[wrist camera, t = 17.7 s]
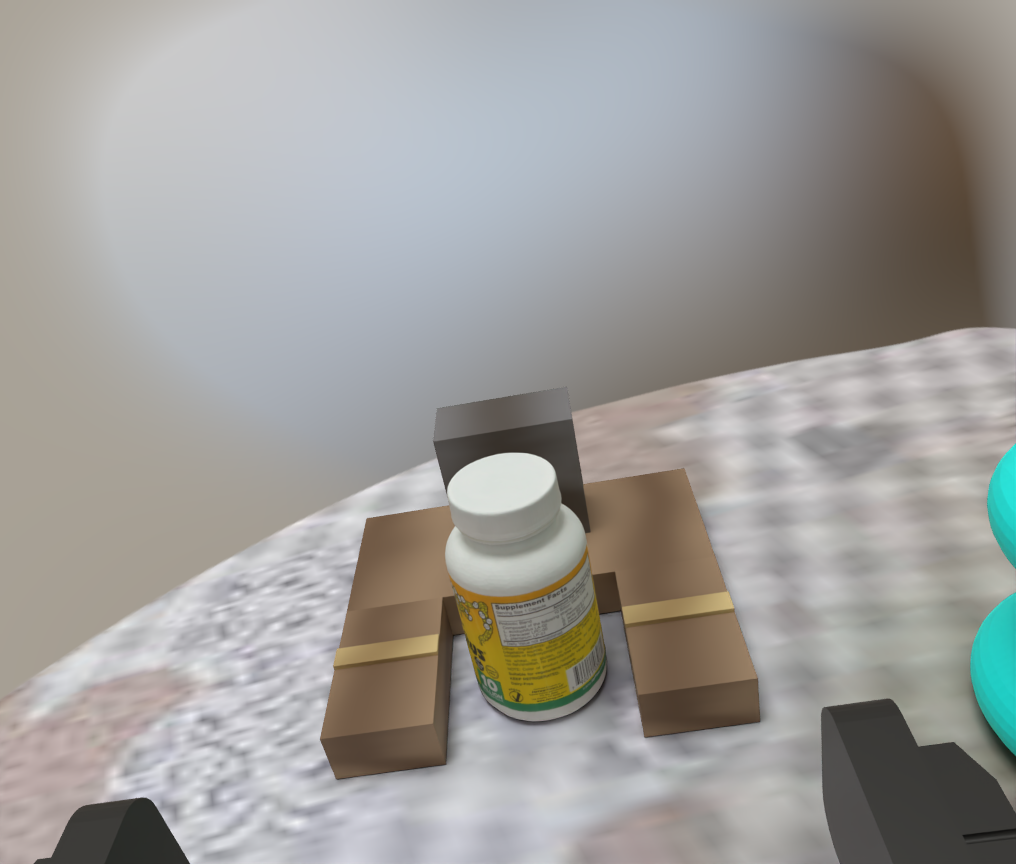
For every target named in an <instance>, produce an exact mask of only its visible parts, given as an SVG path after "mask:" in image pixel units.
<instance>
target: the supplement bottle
mask: <svg viewBox="0 0 1016 864" xmlns="http://www.w3.org/2000/svg"><path fill="white" fill-rule="evenodd" d="M447 497H448V502H449V506H450V511H451V518H452V521H453V523H454V525H455V527H454V529H453V530H452V532H451V534H450V536H449V538H448V541H447V544H446V549H445V560H446V566H447V570H448V574H449V577H450V581H451V585H452V589H453V593H454V596H455V599H456V603H457V607H458V611H459V614H460V618H461V622H462V626H463V630H464V633H465V636H466V641H467V645H468V648H469V652H470V655H471V659H472V663H473V666H474V670H475V674H476V678H477V680H478V684H479V687H480V690H481V692H482V694H483V695H484V697H485V699H486V700H487V701H488V702H489V703H490V704H491V705H493V706H494V707H495V708H497V709H498V710H500V711H501V712H503V713H504V714H506V715H508V716H510V717H513V718H516V719H520V720H526V721H546V720H551V719H556V718H559V717H563V716H566V715H568V714H570V713H572V712H574V711H576V710H578V709H579V708H581V707H582V706H584V705H585V704H586V703H587V702H588V701H590V700H591V699H592V698H593V696H594V695H595V694H596V693H597V691H598V690H599V688H600V687H601V685H602V683H603V681H604V678H605V674H606V668H607V658H606V651H605V644H604V640H603V634H602V628H601V623H600V617H599V611H598V605H597V600H596V594H595V588H594V582H593V576H592V570H591V564H590V558H589V552H588V546H587V540H586V535H585V531H584V528H583V525H582V523H581V522H580V520H579V518H578V517H577V516H576V515H575V514H574V512H573V511H571V510H570V509H569V508H568V507H566V506H565V505H563V504H562V503H561V493H560V490H559V486H558V481H557V476H556V472H555V470H554V468H553V466H552V465H551V464H550V463H549V462H548V461H547V460H545V459H543V458H541V457H538V456H536V455H532V454H528V453H503V454H496V455H492V456H488V457H485V458H482V459H480V460H477V461H475V462H473V463H470V464H469V465H467V466H465V467H464V468H462V469H461V470H460V471H459V472H457V473H456V474H455V475H454V477H453V478H452V479H451V481H450V483H449V485H448V488H447Z"/></svg>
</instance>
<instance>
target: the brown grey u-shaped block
mask: <svg viewBox="0 0 1016 864" xmlns="http://www.w3.org/2000/svg"><path fill="white" fill-rule="evenodd" d="M433 442H434V446H435V450H436V454H437V458H438V462H439V466H440V470H441V474H442V478H443V482H444V485H445V489H446V493H447V488H448V485H449V483H450V481H451V479H452V478H453V477H454V475H455V474H456V473H457V472H459V471H460V470H461V469H462V468H464V467H465V466H467V465H469V464H470V463H473V462H475V461H477V460H480V459H482V458H485V457H488V456H492V455H496V454H503V453H528V454H532V455H536V456H538V457H541V458H543V459H545V460H547V461H548V462H549V463H550V464H551V465H552V466H553V468H554V470H555V472H556V476H557V481H558V486H559V490H560V493H561V503H562V504H563V505H565V506H566V507H568V508H569V509H570V510H571V511H573V512H574V514H575V515H576V516H577V517H578V518H579V520H580V522H581V523H582V525H583V528H584V531H585V535H586V540H587V546H588V552H589V558H590V564H591V570H592V576H593V582H594V588H595V594H596V600H597V605H598V611H599V614H601V613H608V612H614V611H621V613H622V619H623V624H624V630H625V635H626V640H627V646H628V651H629V656H630V662H631V667H632V673H633V678H634V683H635V689H636V694H637V700H638V705H639V710H640V716H641V721H642V726H643V732H644V737H650V736H657V735H664V734H672V733H679V732H686V731H694V730H701V729H709V728H716V727H723V726H731V725H738V724H745V723H753V722H760V711H759V693H758V678H757V675H756V672H755V669H754V666H753V663H752V661H751V658H750V655H749V652H748V649H747V646H746V643H745V641H744V638H743V635H742V632H741V629H740V626H739V623H738V621H737V618H736V615H735V612H734V606H733V603H732V600H731V597H730V595H729V592H728V591H727V589H726V586H725V583H724V581H723V578H722V575H721V572H720V569H719V566H718V563H717V560H716V558H715V555H714V552H713V549H712V546H711V543H710V540H709V538H708V535H707V532H706V529H705V526H704V523H703V520H702V518H701V515H700V512H699V509H698V506H697V503H696V500H695V498H694V495H693V492H692V489H691V486H690V483H689V480H688V478H687V475H686V472H685V469H684V468H683V469H677V470H671V471H664V472H658V473H652V474H645V475H639V476H633V477H626V478H620V479H614V480H607V481H601V482H595V483H588V484H583V481H582V474H581V468H580V462H579V456H578V450H577V444H576V438H575V432H574V426H573V420H572V414H571V408H570V401H569V396H568V390H567V387H563V388H557V389H551V390H545V391H539V392H533V393H527V394H520V395H514V396H508V397H503V398H496V399H490V400H484V401H479V402H472V403H467V404H460V405H454V406H448V407H442V408H437V413H436V423H435V431H434V440H433ZM454 527H455V525H454V523H453V521H452V518H451V511H450V506H442V507H436V508H430V509H423V510H417V511H411V512H404V513H398V514H392V515H385V516H379V517H373V518H367V519H366V524H365V528H364V533H363V538H362V543H361V547H360V552H359V557H358V562H357V566H356V571H355V576H354V581H353V585H352V590H351V595H350V599H349V604H348V609H347V614H346V618H345V623H344V628H343V633H342V637H341V642H340V647H339V649H337V651H336V656H335V661H334V665H333V667H334V670H335V671H334V675H333V680H332V685H331V689H330V694H329V699H328V704H327V708H326V713H325V718H324V723H323V727H322V732H321V737H320V741H321V743H322V745H323V748H324V750H325V753H326V755H327V758H328V760H329V763H330V765H331V768H332V770H333V772H334V775H335V777H336V779H340V778H347V777H355V776H362V775H370V774H377V773H384V772H392V771H399V770H406V769H414V768H421V767H428V766H436V765H443V764H446V752H447V734H448V716H449V698H450V681H451V663H452V645H453V635H458V634H464V630H463V626H462V622H461V618H460V614H459V611H458V607H457V603H456V599H455V596H454V593H453V589H452V585H451V581H450V577H449V574H448V570H447V566H446V560H445V549H446V544H447V541H448V538H449V536H450V534H451V532H452V530H453V529H454Z"/></svg>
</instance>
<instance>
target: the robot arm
mask: <svg viewBox="0 0 1016 864" xmlns="http://www.w3.org/2000/svg"><path fill="white" fill-rule="evenodd" d="M821 734H822V787H823V800H824V807H825V813H826V818H827V822H828V826H829V831H830V834H831V838H832V841H833V845H834V848H835V851H836V854H837V856H838V859H839V862H840V864H1016V813H1015V812H1014V810H1013V808H1012V806H1011V805H1010V803H1009V801H1008V799H1007V798H1006V796H1005V794H1004V792H1003V791H1002V789H1001V787H1000V785H999V783H998V782H997V780H996V779H995V778H994V777H993V776H991V775H990V774H989V773H988V772H987V771H986V770H985V769H984V768H982V767H981V766H980V765H979V764H978V763H977V762H976V761H975V760H973V759H972V758H971V757H970V756H969V755H968V754H967V753H965V752H964V751H963V750H962V749H961V748H960V747H959V746H958V745H956V744H955V743H954V742H951V743H943V744H935V745H928V746H920V747H918V745H917V743H916V741H915V739H914V737H913V735H912V733H911V731H910V729H909V727H908V725H907V723H906V721H905V719H904V717H903V715H902V713H901V712H900V710H899V708H898V707H897V705H896V704H895V703H894V701H893V700H891V699H881V700H874V701H866V702H859V703H852V704H844V705H837V706H830V707H824V708H823V709H822V713H821ZM34 864H190V863H189V861H188V859H187V858H186V856H185V854H184V853H183V851H182V849H181V848H180V846H179V844H178V843H177V841H176V839H175V838H174V836H173V834H172V833H171V831H170V829H169V828H168V826H167V824H166V823H165V821H164V819H163V818H162V816H161V814H160V813H159V811H158V809H157V807H156V806H155V805H154V803H153V802H152V801H151V800H150V799H147V798H135V799H128V800H120V801H113V802H106V803H98V804H91V805H85V806H82V807H81V808H79V809H78V810H77V811H76V812H75V813H74V814H73V815H72V817H71V818H70V820H69V822H68V823H67V825H66V828H65V830H64V832H63V834H62V836H61V838H60V840H59V842H58V844H57V847H56V849H55V851H54V853H53V855H52V857H51V858H45V859H37V861H36V862H35V863H34Z"/></svg>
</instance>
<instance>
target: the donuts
mask: <svg viewBox="0 0 1016 864" xmlns="http://www.w3.org/2000/svg"><path fill="white" fill-rule="evenodd" d="M987 508H988V515H989V521H990V525H991V528H992V531H993V534H994V536H995V538H996V540H997V542H998V544H999V546H1000V548H1001V550H1002V551H1003V553H1004V554H1005V556H1006V557H1007V559H1008V560H1009V561H1010V563H1011V564H1012V565H1013V566H1014V567H1015V568H1016V444H1015V445H1014V446H1013V447H1012V448H1011V449H1010V450H1009V451H1008V452H1007V453H1006V454H1005V455H1004V456H1003V458H1002V459H1001V461H1000V462H999V463H998V465H997V467H996V469H995V472H994V474H993V476H992V478H991V481H990V484H989V490H988V498H987ZM970 671H971V680H972V684H973V688H974V692H975V695H976V699H977V701H978V704H979V706H980V708H981V710H982V713H983V714H984V716H985V718H986V720H987V721H988V723H989V724H990V726H991V727H992V729H993V730H994V731H995V733H996V734H997V735H998V737H999V738H1000V739H1001V740H1002V742H1003V743H1004V744H1005V745H1006V746H1007V748H1008V749H1009V750H1010V751H1011V752H1012V753H1013V754H1014V755H1015V756H1016V592H1015V593H1014V594H1012V595H1010V596H1009V597H1007V598H1006V599H1005V600H1003V601H1002V602H1001V603H1000V604H999V605H998V606H997V607H995V608H994V610H993V611H992V612H991V613H990V614H989V615H988V616H987V617H986V619H985V620H984V621H983V623H982V625H981V627H980V628H979V631H978V633H977V635H976V637H975V640H974V643H973V647H972V652H971V663H970Z"/></svg>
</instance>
